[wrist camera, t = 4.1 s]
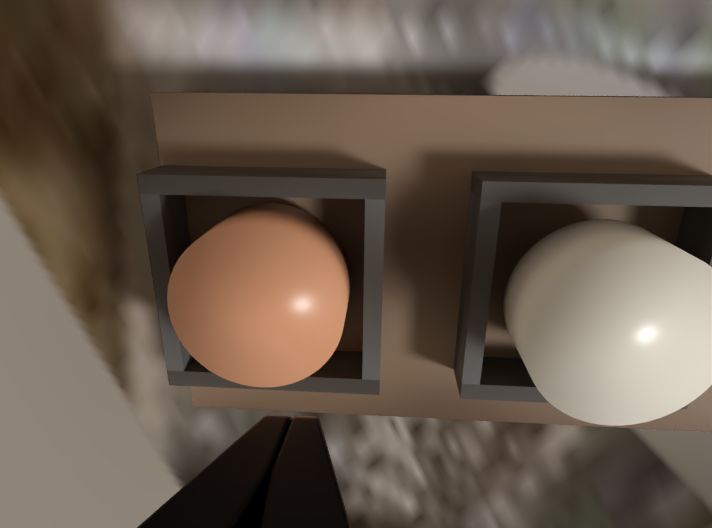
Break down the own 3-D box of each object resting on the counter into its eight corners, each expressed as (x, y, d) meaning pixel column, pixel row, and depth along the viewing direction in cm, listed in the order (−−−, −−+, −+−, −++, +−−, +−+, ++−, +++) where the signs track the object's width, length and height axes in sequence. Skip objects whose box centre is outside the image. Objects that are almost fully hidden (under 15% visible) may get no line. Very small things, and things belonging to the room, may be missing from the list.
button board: (868, 402, 16) (987, 480, 13) (213, 372, 18) (174, 436, 15) (1010, 99, 13) (1220, 103, 10) (181, 92, 14) (119, 93, 11)
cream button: (656, 375, 13) (707, 430, 11) (494, 369, 13) (513, 420, 11) (698, 221, 11) (767, 250, 9) (513, 216, 12) (541, 243, 10)
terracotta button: (351, 347, 14) (344, 391, 12) (208, 341, 14) (178, 383, 12) (351, 205, 13) (344, 227, 11) (192, 201, 13) (155, 222, 11)
